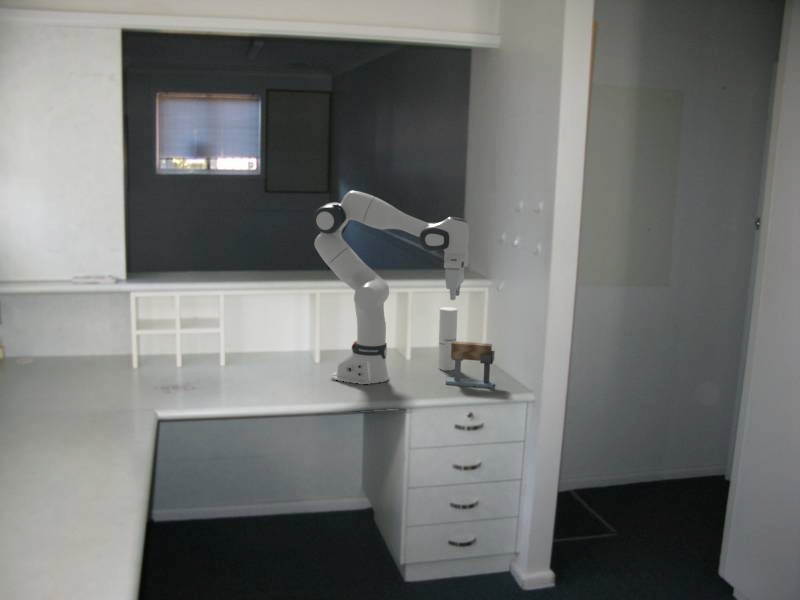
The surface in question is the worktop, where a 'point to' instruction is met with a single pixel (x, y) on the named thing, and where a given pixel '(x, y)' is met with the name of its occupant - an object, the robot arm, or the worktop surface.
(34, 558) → the worktop surface
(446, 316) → the cylindrical container
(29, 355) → the worktop surface
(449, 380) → the stand
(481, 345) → the rail
